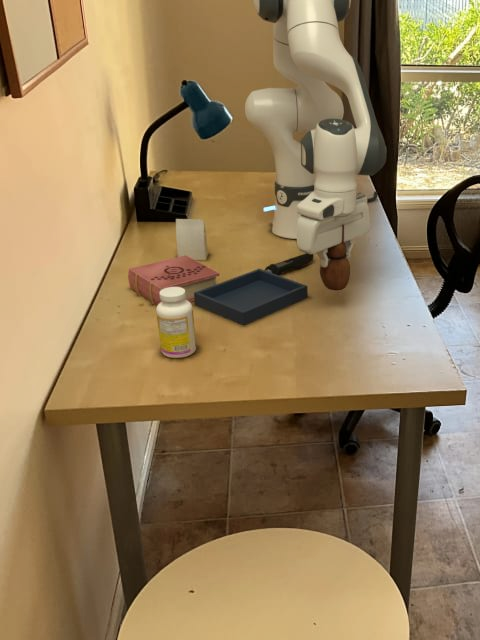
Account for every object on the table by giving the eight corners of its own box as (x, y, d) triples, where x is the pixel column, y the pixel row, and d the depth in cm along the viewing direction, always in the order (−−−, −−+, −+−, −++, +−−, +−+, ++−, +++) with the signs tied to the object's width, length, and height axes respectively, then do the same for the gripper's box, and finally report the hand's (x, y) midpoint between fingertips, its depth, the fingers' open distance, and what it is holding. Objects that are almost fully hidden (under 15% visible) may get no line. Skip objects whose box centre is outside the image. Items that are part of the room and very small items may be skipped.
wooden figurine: (355, 289, 166) (356, 224, 159) (334, 295, 162) (335, 229, 156) (335, 280, 170) (335, 216, 163) (315, 286, 167) (314, 221, 160)
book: (127, 290, 171) (125, 269, 169) (187, 274, 181) (185, 255, 179) (159, 310, 162) (157, 289, 160) (220, 292, 172) (219, 272, 170)
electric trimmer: (317, 264, 191) (317, 253, 190) (272, 280, 180) (272, 268, 179) (306, 261, 193) (306, 249, 192) (261, 276, 182) (261, 264, 181)
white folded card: (205, 260, 190) (202, 222, 185) (178, 259, 189) (174, 221, 185) (207, 254, 193) (204, 217, 189) (180, 254, 192) (177, 216, 188)
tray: (259, 280, 180) (259, 268, 179) (307, 297, 172) (307, 285, 171) (194, 305, 166) (193, 292, 164) (243, 325, 158) (243, 312, 157)
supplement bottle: (175, 341, 150) (169, 281, 144) (203, 348, 148) (198, 288, 142) (153, 355, 145) (146, 294, 139) (182, 362, 143) (176, 301, 137)
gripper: (355, 187, 166) (354, 246, 173) (290, 207, 151) (292, 271, 158) (377, 193, 163) (376, 253, 170) (314, 214, 148) (314, 278, 155)
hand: (335, 262), depth 164 cm, fingers closed on wooden figurine, 5 cm apart
